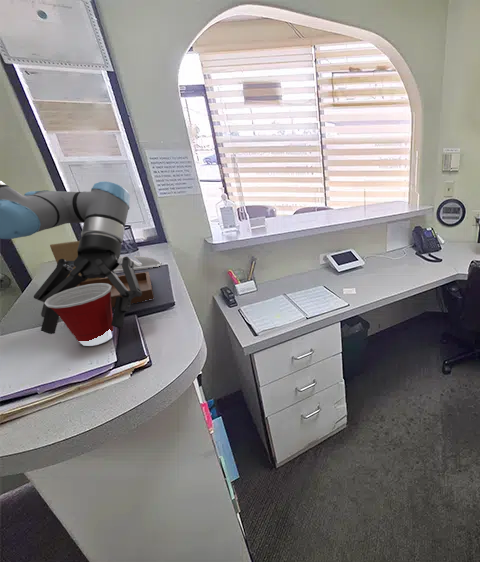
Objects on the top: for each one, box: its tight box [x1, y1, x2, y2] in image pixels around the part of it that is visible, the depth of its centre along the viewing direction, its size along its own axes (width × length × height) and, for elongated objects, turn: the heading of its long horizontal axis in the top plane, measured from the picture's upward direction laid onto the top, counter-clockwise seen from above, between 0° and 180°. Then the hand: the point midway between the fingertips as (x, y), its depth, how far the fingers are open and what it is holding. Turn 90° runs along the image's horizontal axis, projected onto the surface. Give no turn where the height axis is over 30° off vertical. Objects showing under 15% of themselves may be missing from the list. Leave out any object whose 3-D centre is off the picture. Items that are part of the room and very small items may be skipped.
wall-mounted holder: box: [114, 255, 162, 273], centre depth 111 cm, size 6×5×20 cm
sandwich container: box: [49, 240, 101, 281], centre depth 97 cm, size 9×15×15 cm, turn 42°
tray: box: [76, 271, 155, 309], centre depth 90 cm, size 18×18×3 cm
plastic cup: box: [43, 283, 114, 342], centre depth 67 cm, size 11×11×12 cm
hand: (83, 329), depth 66 cm, fingers open, 12 cm apart
